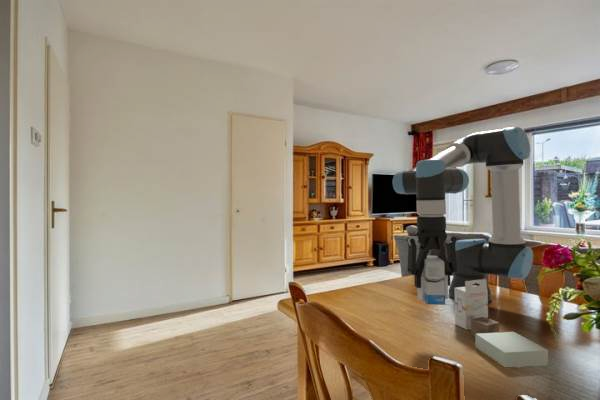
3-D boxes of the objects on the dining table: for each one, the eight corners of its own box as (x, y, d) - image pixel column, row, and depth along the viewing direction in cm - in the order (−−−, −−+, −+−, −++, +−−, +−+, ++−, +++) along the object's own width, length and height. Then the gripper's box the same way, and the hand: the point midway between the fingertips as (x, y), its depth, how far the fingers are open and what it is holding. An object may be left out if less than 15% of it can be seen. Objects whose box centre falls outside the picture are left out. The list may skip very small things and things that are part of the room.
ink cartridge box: (475, 321, 107) (475, 275, 107) (488, 326, 102) (488, 279, 102) (453, 324, 104) (453, 277, 104) (465, 330, 100) (465, 281, 99)
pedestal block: (513, 346, 89) (513, 331, 89) (548, 367, 78) (548, 350, 78) (475, 348, 88) (475, 333, 88) (504, 369, 77) (504, 352, 77)
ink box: (445, 305, 87) (445, 261, 87) (426, 304, 88) (425, 261, 88) (438, 295, 96) (438, 255, 96) (420, 294, 97) (420, 254, 97)
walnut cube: (483, 333, 97) (483, 316, 97) (499, 340, 93) (499, 322, 93) (470, 336, 95) (470, 319, 95) (486, 343, 91) (486, 325, 91)
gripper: (455, 213, 97) (456, 292, 97) (392, 215, 94) (394, 296, 95) (471, 215, 89) (473, 300, 90) (404, 217, 87) (406, 305, 87)
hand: (432, 298), depth 92 cm, fingers closed on ink box, 6 cm apart
